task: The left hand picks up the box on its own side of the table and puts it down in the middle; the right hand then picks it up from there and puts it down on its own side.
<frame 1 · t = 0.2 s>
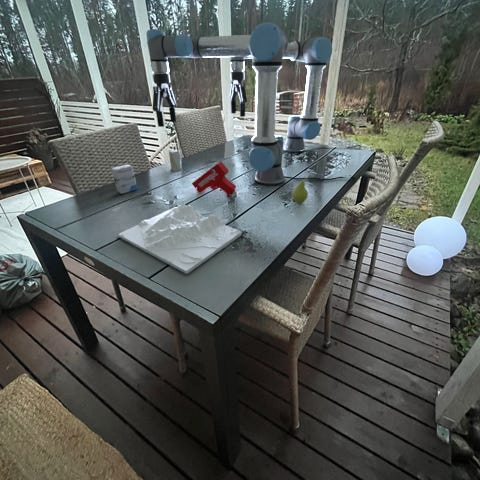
left hand: (167, 124, 133), 28 cm above the table, tool pointing down, fingers open, 13 cm apart
right hand: (237, 114, 156), 28 cm above the table, tool pointing down, fingers open, 13 cm apart
toy gun: (214, 193, 131), on the table
relief map: (180, 236, 98), on the table
ink box: (127, 190, 134), on the table
box: (176, 169, 161), on the table
fruit: (299, 202, 122), on the table
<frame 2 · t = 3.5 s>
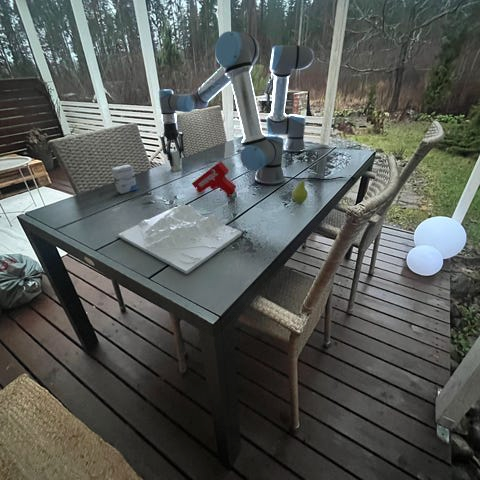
left hand: (175, 164, 159), 3 cm above the table, tool pointing down, fingers closed on box, 4 cm apart
right hand: (274, 104, 210), 27 cm above the table, tool pointing down, fingers open, 13 cm apart
box: (176, 169, 161), on the table, touching left hand
everything else where it was.
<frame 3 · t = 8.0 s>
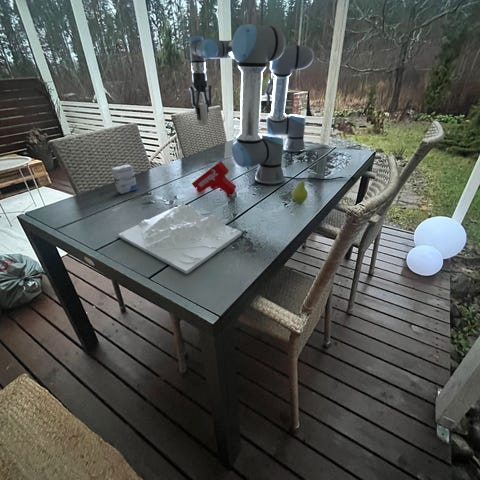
left hand: (202, 119, 158), 26 cm above the table, tool pointing down, fingers closed on box, 4 cm apart
right hand: (274, 104, 210), 26 cm above the table, tool pointing down, fingers open, 13 cm apart
box: (202, 124, 159), point 23 cm above the table, touching left hand
everything else where it was.
when the left hand's fingers open (4 cm above the table, at t = 12.9 s): box drops 1 cm, on the table.
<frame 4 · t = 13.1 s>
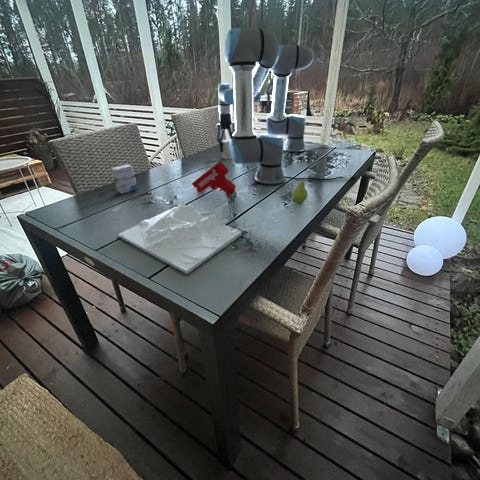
left hand: (226, 151, 178), 5 cm above the table, tool pointing down, fingers open, 7 cm apart
right hand: (274, 104, 210), 26 cm above the table, tool pointing down, fingers open, 13 cm apart
box: (226, 158, 180), on the table
everything else where it was.
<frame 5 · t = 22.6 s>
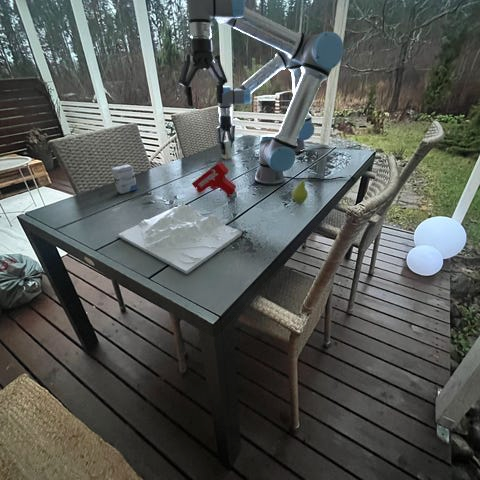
left hand: (205, 104, 109), 39 cm above the table, tool pointing down, fingers open, 13 cm apart
right hand: (226, 153, 179), 3 cm above the table, tool pointing down, fingers closed on box, 4 cm apart
box: (226, 158, 180), on the table, touching right hand
everything else where it was.
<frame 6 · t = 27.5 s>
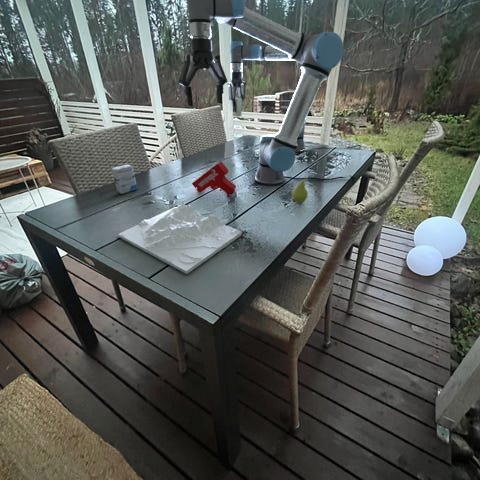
left hand: (205, 104, 109), 39 cm above the table, tool pointing down, fingers open, 13 cm apart
right hand: (237, 111, 185), 26 cm above the table, tool pointing down, fingers closed on box, 4 cm apart
box: (237, 116, 187), point 23 cm above the table, touching right hand
everything else where it was.
when the right hand's fingers open (4 cm above the table, at t = 32.7 s): box drops 1 cm, on the table.
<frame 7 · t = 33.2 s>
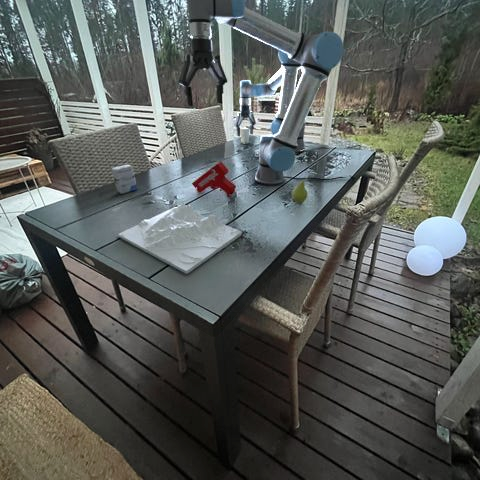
left hand: (205, 104, 109), 39 cm above the table, tool pointing down, fingers open, 13 cm apart
right hand: (245, 135, 212), 6 cm above the table, tool pointing down, fingers open, 12 cm apart
box: (245, 143, 215), on the table
everything else where it was.
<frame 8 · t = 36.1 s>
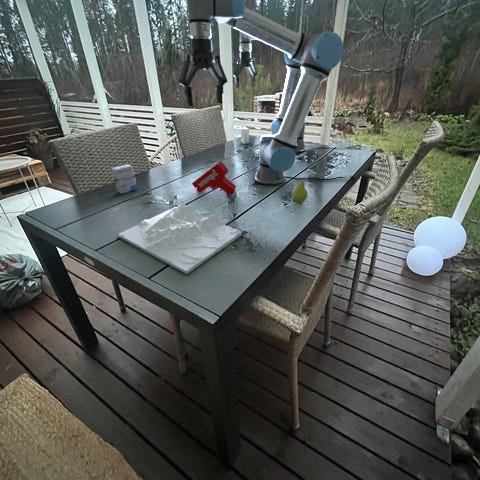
left hand: (205, 104, 109), 39 cm above the table, tool pointing down, fingers open, 13 cm apart
right hand: (245, 87, 194), 39 cm above the table, tool pointing down, fingers open, 13 cm apart
nothing on the table moved.
at the end: box inside the target area (0.1 cm from its centre), on the table; box tilted 0°; the two hands never held the box at the same time; the left hand is holding nothing; the right hand is holding nothing; box at rest at the end (0.0 cm/s) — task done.
